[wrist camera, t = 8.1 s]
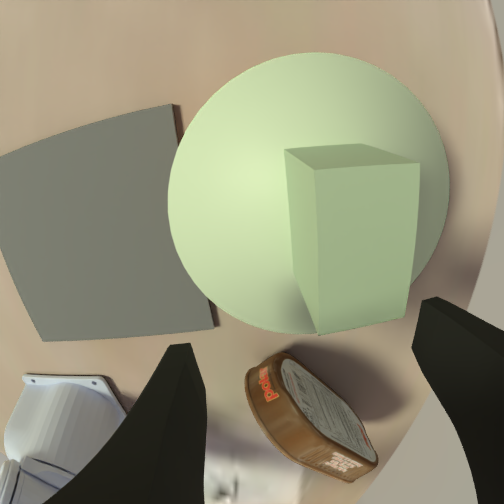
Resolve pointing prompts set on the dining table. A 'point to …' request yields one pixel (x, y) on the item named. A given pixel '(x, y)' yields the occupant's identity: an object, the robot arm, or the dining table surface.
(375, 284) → the lid
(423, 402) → the dining table surface
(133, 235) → the mat
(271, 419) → the tin
